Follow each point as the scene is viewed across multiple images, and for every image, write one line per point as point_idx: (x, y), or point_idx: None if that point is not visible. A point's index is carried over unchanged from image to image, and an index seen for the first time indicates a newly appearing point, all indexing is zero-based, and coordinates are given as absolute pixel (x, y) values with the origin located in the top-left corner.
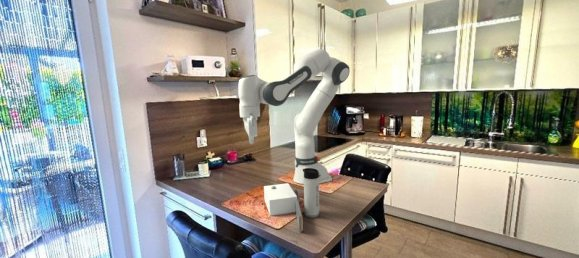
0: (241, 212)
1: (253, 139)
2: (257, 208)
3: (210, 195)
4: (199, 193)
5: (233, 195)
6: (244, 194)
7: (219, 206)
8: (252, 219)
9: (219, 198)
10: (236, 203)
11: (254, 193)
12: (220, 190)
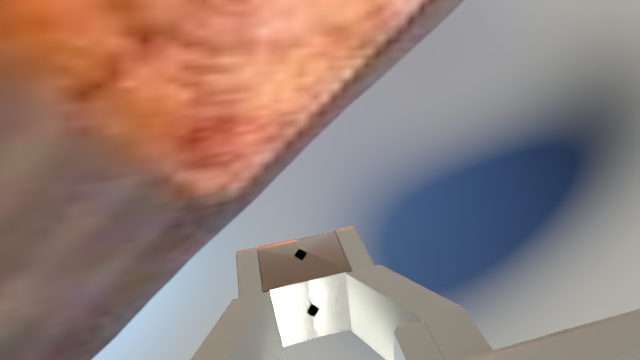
0: (317, 101)
1: (392, 275)
2: (291, 25)
3: (120, 268)
4: (97, 316)
5: (119, 166)
6: (103, 109)
7: (244, 203)
8: (390, 46)
9: (157, 223)
10: (221, 136)
11: (84, 49)
12: (50, 242)
